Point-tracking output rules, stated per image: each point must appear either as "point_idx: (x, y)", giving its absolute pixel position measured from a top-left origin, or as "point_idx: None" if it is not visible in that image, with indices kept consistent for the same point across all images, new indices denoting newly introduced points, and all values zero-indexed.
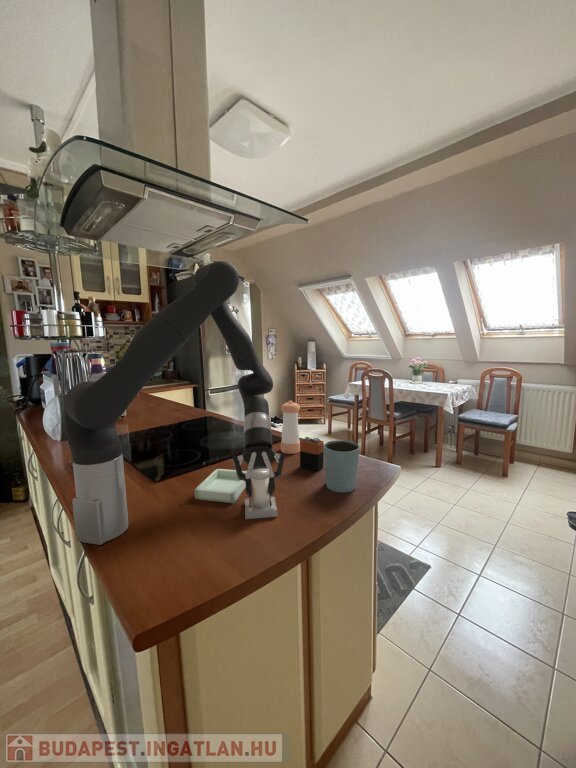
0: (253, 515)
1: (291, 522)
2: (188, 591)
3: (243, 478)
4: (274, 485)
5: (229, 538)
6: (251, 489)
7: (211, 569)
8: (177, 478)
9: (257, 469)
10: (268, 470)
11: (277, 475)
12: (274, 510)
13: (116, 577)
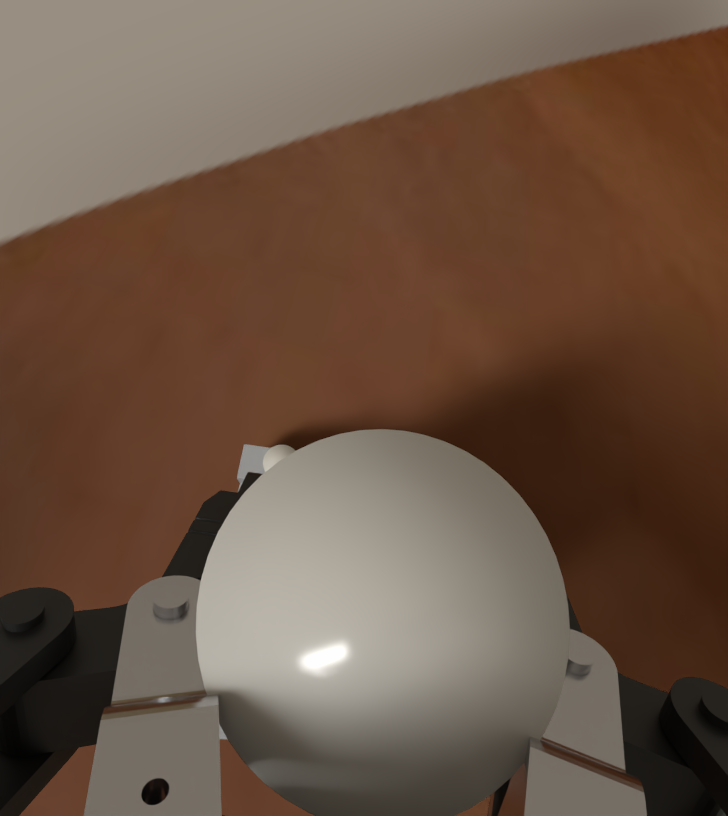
0: None
1: (179, 370)
2: (718, 86)
3: (631, 682)
4: (193, 529)
5: (589, 325)
6: None
7: (652, 154)
8: None
9: (426, 688)
10: (220, 571)
11: (75, 620)
12: (267, 449)
13: None
